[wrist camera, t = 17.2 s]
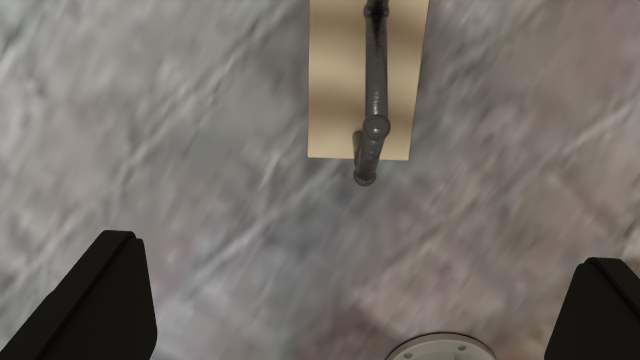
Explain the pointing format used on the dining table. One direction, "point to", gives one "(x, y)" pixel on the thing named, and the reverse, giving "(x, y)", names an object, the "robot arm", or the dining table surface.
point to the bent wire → (373, 95)
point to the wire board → (360, 75)
